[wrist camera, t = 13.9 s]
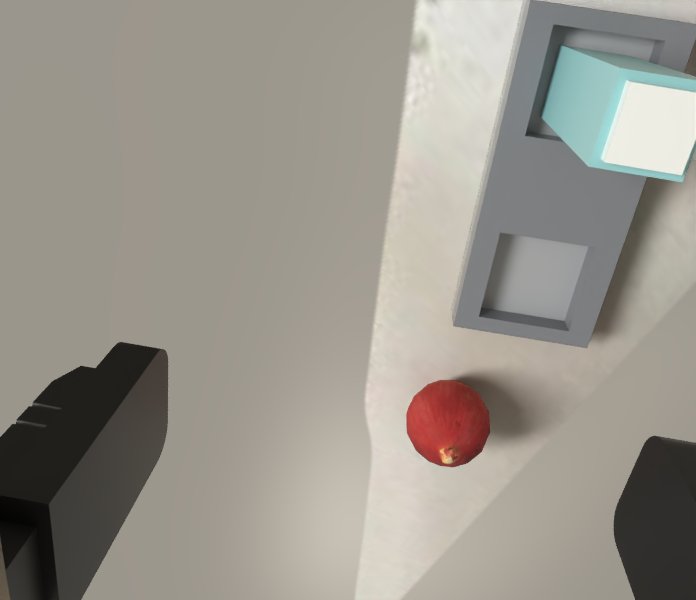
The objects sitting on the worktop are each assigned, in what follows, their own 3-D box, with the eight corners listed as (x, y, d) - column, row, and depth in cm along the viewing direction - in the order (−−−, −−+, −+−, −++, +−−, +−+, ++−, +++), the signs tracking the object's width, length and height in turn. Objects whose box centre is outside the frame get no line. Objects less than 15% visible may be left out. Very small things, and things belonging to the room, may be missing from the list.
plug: (559, 44, 36) (624, 69, 25) (644, 58, 36) (748, 89, 24) (539, 116, 38) (591, 170, 26) (620, 129, 38) (707, 189, 26)
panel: (523, -1, 36) (530, -1, 34) (682, 22, 36) (700, 24, 33) (451, 309, 45) (453, 326, 43) (578, 330, 45) (586, 348, 42)
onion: (501, 392, 47) (516, 464, 40) (446, 436, 50) (451, 511, 43) (445, 345, 46) (450, 410, 39) (391, 392, 48) (387, 462, 41)
